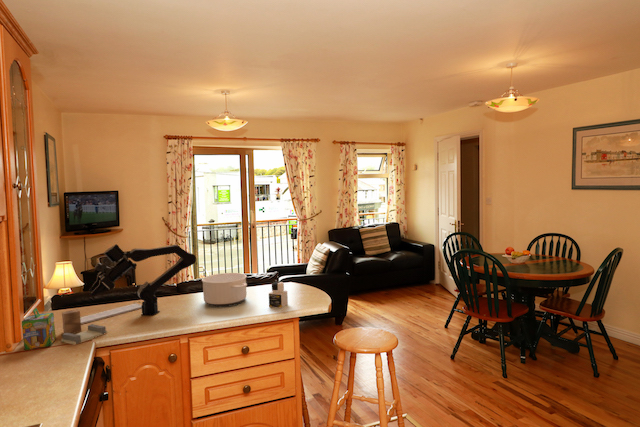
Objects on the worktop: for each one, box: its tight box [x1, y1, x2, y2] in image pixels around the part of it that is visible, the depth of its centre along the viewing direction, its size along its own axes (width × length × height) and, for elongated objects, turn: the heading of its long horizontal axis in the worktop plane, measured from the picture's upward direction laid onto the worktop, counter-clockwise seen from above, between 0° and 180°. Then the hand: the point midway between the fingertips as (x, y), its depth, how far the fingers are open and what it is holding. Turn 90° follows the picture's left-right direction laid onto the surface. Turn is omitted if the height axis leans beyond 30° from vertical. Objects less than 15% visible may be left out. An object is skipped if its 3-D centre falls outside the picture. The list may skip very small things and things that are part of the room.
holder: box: [60, 323, 108, 345], centre depth 171 cm, size 14×9×3 cm, turn 153°
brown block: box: [61, 308, 82, 334], centre depth 178 cm, size 6×4×9 cm
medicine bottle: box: [268, 281, 289, 309], centre depth 206 cm, size 7×7×12 cm
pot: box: [201, 272, 248, 308], centre depth 216 cm, size 33×23×14 cm
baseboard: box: [80, 301, 142, 325], centre depth 204 cm, size 31×3×12 cm
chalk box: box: [21, 307, 57, 351], centre depth 164 cm, size 9×9×15 cm
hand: (90, 293), depth 186 cm, fingers open, 9 cm apart
